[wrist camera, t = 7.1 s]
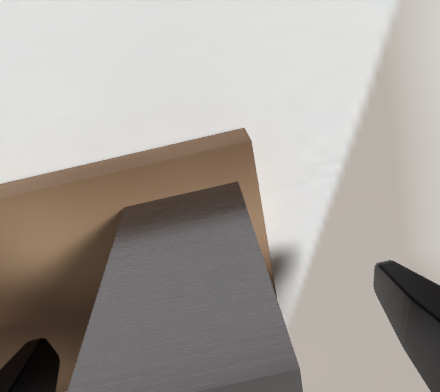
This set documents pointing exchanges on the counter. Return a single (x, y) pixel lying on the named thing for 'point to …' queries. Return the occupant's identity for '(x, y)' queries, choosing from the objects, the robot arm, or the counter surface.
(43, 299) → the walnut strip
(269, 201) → the counter surface
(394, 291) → the robot arm
